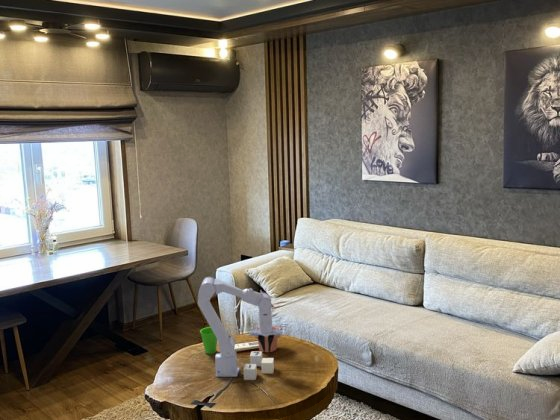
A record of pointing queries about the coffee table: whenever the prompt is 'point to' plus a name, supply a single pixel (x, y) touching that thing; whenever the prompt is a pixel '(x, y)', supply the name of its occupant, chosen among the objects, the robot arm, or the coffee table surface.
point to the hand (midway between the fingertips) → (267, 350)
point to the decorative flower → (274, 342)
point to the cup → (209, 340)
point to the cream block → (267, 365)
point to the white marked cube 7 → (256, 357)
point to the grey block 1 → (250, 371)
